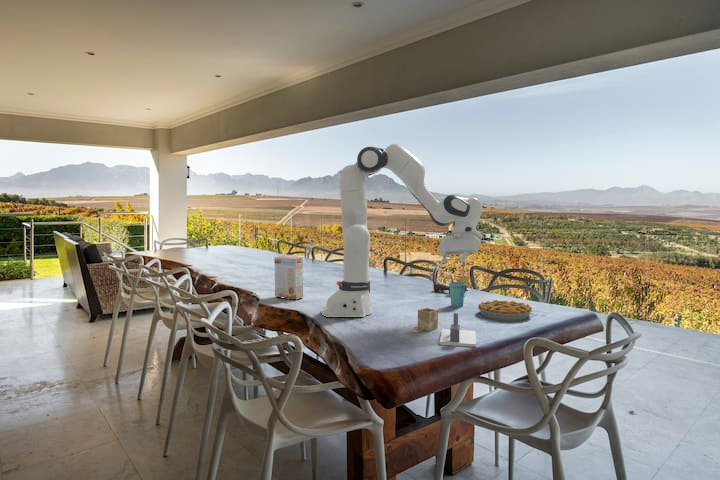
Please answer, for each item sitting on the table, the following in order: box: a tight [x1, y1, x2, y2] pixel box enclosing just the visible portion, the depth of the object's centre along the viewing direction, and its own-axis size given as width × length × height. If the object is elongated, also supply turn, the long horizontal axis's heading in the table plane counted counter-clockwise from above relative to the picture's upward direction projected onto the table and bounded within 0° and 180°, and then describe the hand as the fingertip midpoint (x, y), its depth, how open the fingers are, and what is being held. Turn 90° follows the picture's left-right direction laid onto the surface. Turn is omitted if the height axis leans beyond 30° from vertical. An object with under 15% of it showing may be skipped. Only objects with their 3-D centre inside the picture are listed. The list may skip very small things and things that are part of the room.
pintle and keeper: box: [450, 312, 461, 342], centre depth 159 cm, size 12×3×8 cm, turn 167°
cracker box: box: [274, 255, 304, 300], centre depth 229 cm, size 14×6×21 cm, turn 58°
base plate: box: [439, 328, 477, 348], centre depth 160 cm, size 16×12×1 cm
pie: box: [477, 299, 533, 322], centre depth 193 cm, size 22×22×5 cm
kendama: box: [433, 282, 469, 295], centre depth 239 cm, size 6×10×20 cm
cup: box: [444, 274, 470, 308], centre depth 209 cm, size 14×8×15 cm, turn 127°
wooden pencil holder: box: [412, 307, 439, 333], centre depth 172 cm, size 10×5×7 cm, turn 132°
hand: (452, 262), depth 186 cm, fingers open, 8 cm apart
